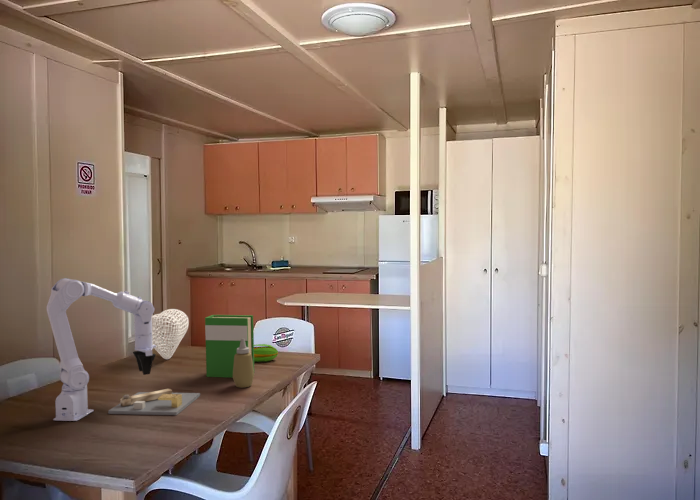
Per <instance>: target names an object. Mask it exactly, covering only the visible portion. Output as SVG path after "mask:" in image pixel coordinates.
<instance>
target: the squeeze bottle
mask: <svg viewBox="0 0 700 500" xmlns="http://www.w3.org/2000/svg"><path fill="white" fill-rule="evenodd" d="M254 378H255V368H254V369H253V361H252V354H250V353H249V348H248V347H246V344H245V340H244V338H242V339H241V342H240V347H239V348H237V354H235V356H234V366H233V378H232V380H233V382H234V384H235V387H236V388H241V389H242V388H249V387H251V386H252V385H253V380H254Z"/></svg>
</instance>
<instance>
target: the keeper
mask: <svg viewBox="0 0 700 500" xmlns="http://www.w3.org/2000/svg"><path fill="white" fill-rule="evenodd" d="M158 400H171V403H172V408H178V407H179V406H180V405H182V394H162V395H161V396H160V397H158Z"/></svg>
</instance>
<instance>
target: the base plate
mask: <svg viewBox="0 0 700 500" xmlns="http://www.w3.org/2000/svg"><path fill="white" fill-rule="evenodd" d="M149 392H150V391H147V392H146V391H138V392H136V393H135V394H132V396H134V395H139V394H144V393H149ZM172 394H182V405H180V406H179V407H178V408H172V403H171V400H158V399H156V400H151V401H146V402H145V408H143V409H134V404H132V405H129V406H121V403H120V402H119V403H118V404H117V405H115V406H113V407H112V408H110V409H108V411H107V412H108V413H107V414H108V415H110V414H111V415H143V416H144V415H147V416H148V415H151V416H152V415H153V416H154V415H155V416H156V415H157V416H178V415H179V414H180V413H181V412H183V411H184V410H185V409H186V408H187V407H188V406H190V405H191V404H192V403H193V402H195V401H196V400H198V399H199V398H200V397H201V393H200V392H172Z"/></svg>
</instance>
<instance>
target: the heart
mask: <svg viewBox="0 0 700 500" xmlns="http://www.w3.org/2000/svg"><path fill="white" fill-rule="evenodd" d="M167 323H168V324H167ZM189 323H190V320H189V316H188V315H187V314H186V313H185V312H184V311H182V310H180V309H177V308H169V309H166V310H162V311H161V312H160V313H154V314H152V344H153V345H156V347H155V348H153V350H155V351H156V352H157V353H158V354H159V355H160V357H162V358H163V359H164V360H170V359H171V358H172V357H173V355H174V354H175V352H176V350H177V349H178V347H179V345H180V343H181V341H182V340H183V338H184V337H185V335H186V333H187V332H188V329H189V327H190V326H189V325H190V324H189Z"/></svg>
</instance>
